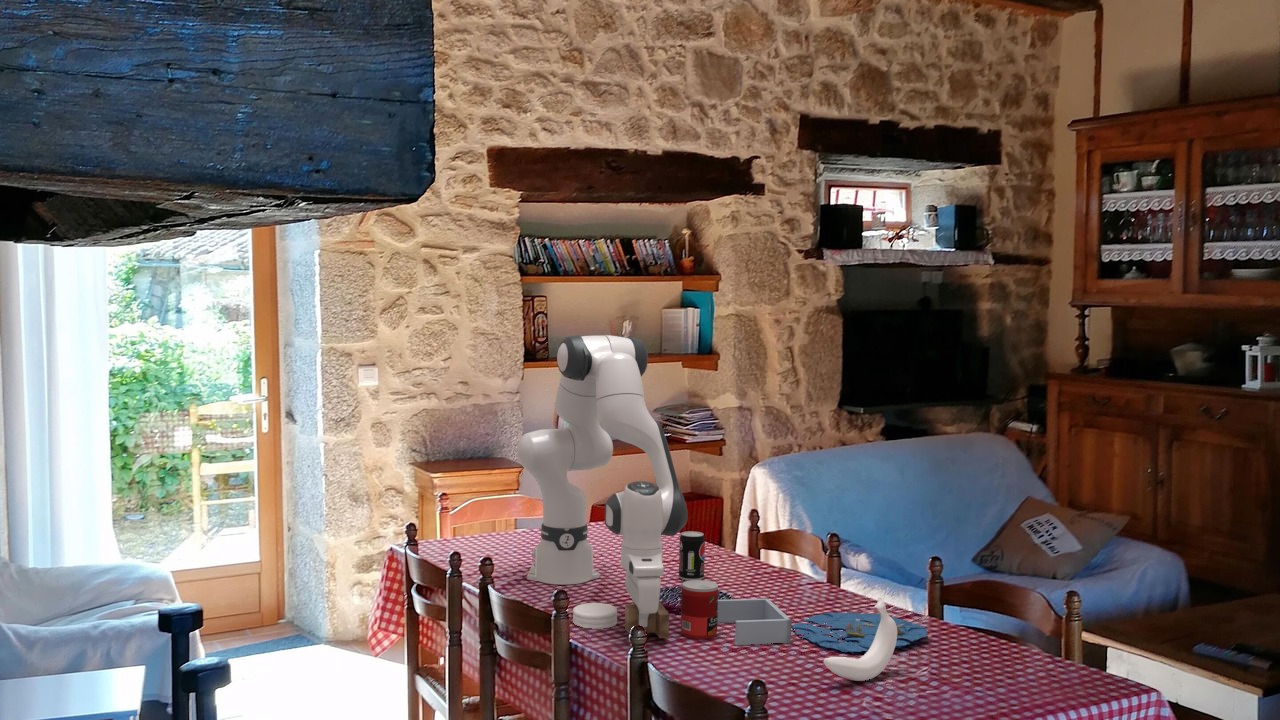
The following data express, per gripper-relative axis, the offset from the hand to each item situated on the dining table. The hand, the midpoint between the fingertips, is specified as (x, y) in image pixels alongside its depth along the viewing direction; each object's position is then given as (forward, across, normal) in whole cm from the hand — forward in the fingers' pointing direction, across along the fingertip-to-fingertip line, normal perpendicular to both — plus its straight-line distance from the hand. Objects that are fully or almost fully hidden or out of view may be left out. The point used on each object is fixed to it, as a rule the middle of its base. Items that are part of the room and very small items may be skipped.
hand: (640, 622), depth 231 cm
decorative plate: (+4, +4, +48) cm, 48 cm away
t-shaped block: (+2, 0, 0) cm, 2 cm away
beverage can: (+3, -46, +22) cm, 51 cm away
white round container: (+4, -11, -8) cm, 14 cm away
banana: (+3, +31, +38) cm, 49 cm away
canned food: (+3, 0, +13) cm, 13 cm away
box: (+3, 0, +25) cm, 25 cm away
